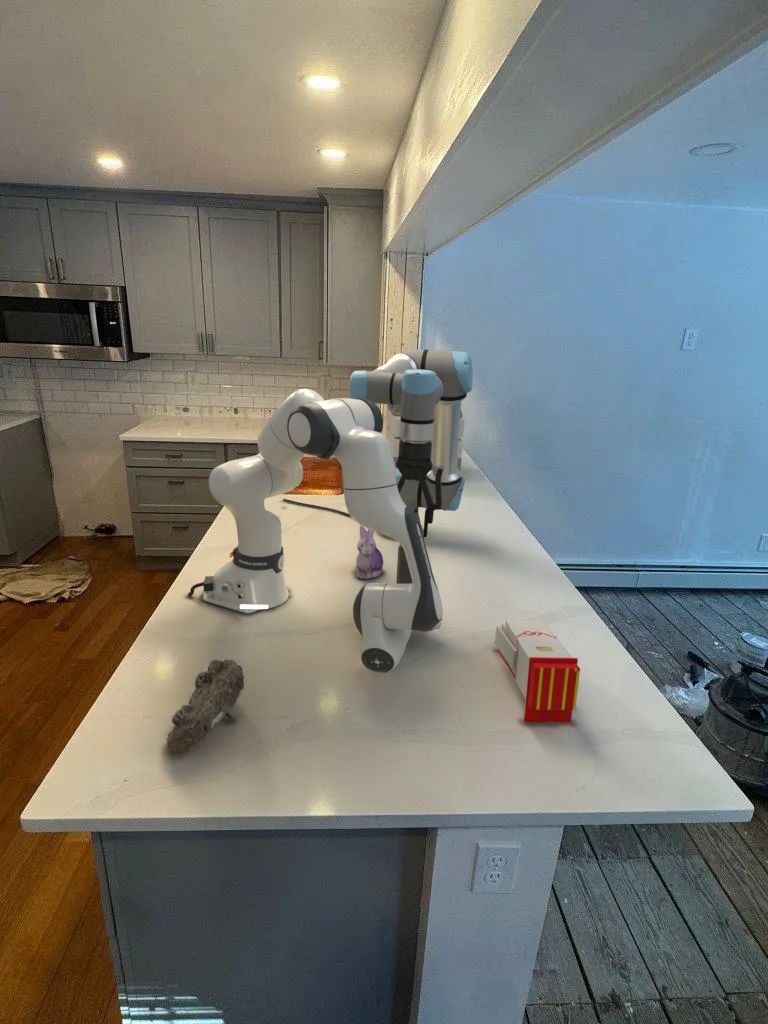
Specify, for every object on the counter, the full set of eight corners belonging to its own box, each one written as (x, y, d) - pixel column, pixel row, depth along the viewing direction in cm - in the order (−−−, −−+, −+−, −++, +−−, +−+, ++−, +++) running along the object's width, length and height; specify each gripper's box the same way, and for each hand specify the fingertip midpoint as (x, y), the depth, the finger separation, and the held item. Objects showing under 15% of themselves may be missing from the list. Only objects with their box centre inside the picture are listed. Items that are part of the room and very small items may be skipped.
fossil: (192, 660, 117) (244, 628, 112) (224, 691, 120) (276, 661, 115) (142, 746, 98) (202, 712, 93) (182, 779, 101) (242, 748, 96)
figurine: (361, 582, 163) (363, 534, 158) (347, 568, 171) (348, 522, 166) (390, 577, 167) (393, 529, 162) (375, 563, 176) (377, 518, 170)
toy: (541, 605, 135) (589, 664, 106) (536, 657, 138) (581, 729, 108) (490, 604, 135) (524, 663, 105) (486, 656, 137) (518, 728, 108)
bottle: (418, 624, 143) (425, 532, 135) (398, 627, 141) (404, 534, 133) (409, 613, 148) (415, 524, 139) (390, 616, 146) (395, 526, 138)
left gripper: (440, 618, 127) (448, 591, 140) (352, 604, 132) (368, 579, 144) (437, 642, 130) (446, 613, 142) (352, 628, 134) (367, 600, 147)
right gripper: (459, 440, 131) (451, 532, 139) (376, 433, 134) (372, 524, 142) (458, 447, 124) (449, 544, 132) (370, 440, 127) (366, 535, 135)
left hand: (406, 596), depth 143 cm, fingers closed on bottle, 5 cm apart
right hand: (409, 533), depth 137 cm, fingers open, 7 cm apart
